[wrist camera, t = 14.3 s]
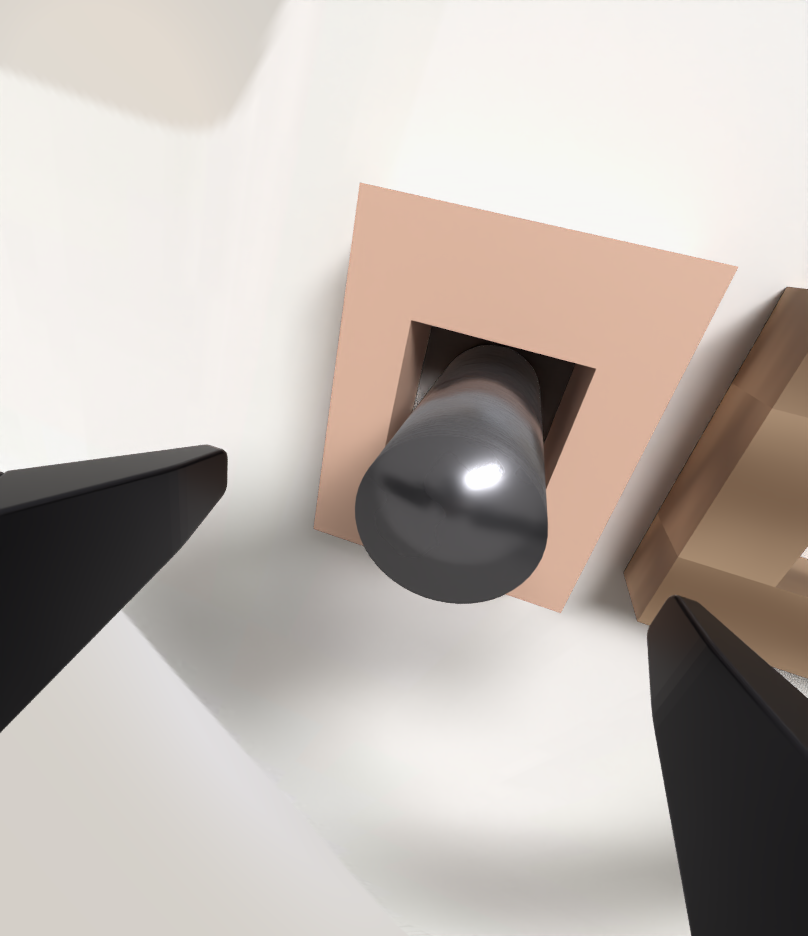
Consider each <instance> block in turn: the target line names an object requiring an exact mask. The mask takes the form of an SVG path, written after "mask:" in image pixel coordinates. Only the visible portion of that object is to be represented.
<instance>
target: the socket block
mask: <svg viewBox="0 0 808 936" xmlns="http://www.w3.org/2000/svg"><path fill="white" fill-rule="evenodd" d="M807 547H808V289H802V288H793V287H786V289H785V291H784V293H783V294H782V296H781V298H780V300H779V301H778V303H777V305H776V307H775V308H774V310H773V312H772V314H771V315H770V317H769V319H768V321H767V322H766V324H765V326H764V328H763V329H762V331H761V333H760V335H759V336H758V338H757V340H756V342H755V343H754V345H753V347H752V349H751V350H750V352H749V354H748V356H747V357H746V359H745V361H744V363H743V364H742V366H741V368H740V370H739V371H738V373H737V375H736V377H735V378H734V380H733V382H732V384H731V385H730V387H729V389H728V391H727V392H726V394H725V396H724V398H723V399H722V401H721V403H720V405H719V406H718V408H717V410H716V412H715V413H714V415H713V417H712V419H711V420H710V422H709V424H708V426H707V427H706V429H705V431H704V433H703V434H702V436H701V438H700V440H699V441H698V443H697V445H696V447H695V448H694V450H693V452H692V454H691V455H690V457H689V459H688V461H687V462H686V464H685V466H684V468H683V469H682V471H681V473H680V475H679V476H678V478H677V480H676V482H675V483H674V485H673V487H672V489H671V490H670V492H669V494H668V496H667V497H666V499H665V501H664V503H663V504H662V506H661V508H660V510H659V511H658V513H657V515H656V517H655V518H654V520H653V522H652V524H651V525H650V527H649V529H648V531H647V532H646V534H645V536H644V538H643V539H642V541H641V543H640V545H639V546H638V548H637V550H636V552H635V553H634V555H633V557H632V559H631V560H630V562H629V564H628V566H627V567H626V569H625V571H624V577H625V580H626V584H627V587H628V591H629V594H630V598H631V601H632V605H633V608H634V612H635V615H636V619H637V621H638V622H641V623H644V624H647V625H650V624H651V623H652V621H653V619H654V618H655V616H656V615H657V613H658V612H659V610H660V609H661V607H662V606H663V604H664V603H665V601H666V600H667V599H668V598H669V597H670V596H672V595H679V596H682V597H686V598H689V599H692V600H695V601H697V602H699V603H700V604H701V605H702V606H703V607H705V608H706V609H707V610H708V611H709V612H710V613H711V614H713V615H714V616H715V617H716V618H717V619H718V620H719V621H720V622H722V623H723V624H724V625H725V626H726V627H727V628H728V629H730V630H731V631H732V632H733V633H734V634H735V635H736V636H737V637H739V638H740V639H741V640H742V641H743V642H744V643H745V644H747V645H748V646H749V647H750V648H751V649H752V650H753V651H755V652H756V653H757V654H758V655H759V656H760V657H761V658H762V659H764V660H765V661H766V662H767V663H768V664H769V665H770V666H772V667H775V668H778V669H781V670H784V671H787V672H790V673H793V674H796V675H799V676H802V677H805V678H808V559H806V558H803V557H800V556H801V554H802V553H803V552H804V551H805V549H806V548H807Z"/></svg>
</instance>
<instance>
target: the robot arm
mask: <svg viewBox="0 0 808 936" xmlns="http://www.w3.org/2000/svg"><path fill="white" fill-rule="evenodd" d="M227 465H228V457H227V453H226V452H225V451H224V450H223V449H220V448H217V447H214V446H211V445H199V446H191V447H184V448H176V449H168V450H161V451H153V452H146V453H138V454H131V455H123V456H116V457H108V458H101V459H93V460H86V461H78V462H71V463H63V464H56V465H48V466H41V467H33V468H26V469H18V470H11V471H6V472H5V473H3V472H0V733H1V731H2V730H3V729H4V728H5V727H6V726H7V725H8V724H9V723H10V722H11V721H12V720H13V719H14V718H15V717H16V716H17V715H18V714H19V713H20V712H21V711H22V710H23V709H24V708H25V707H26V706H27V705H28V704H29V703H30V702H31V701H32V700H33V699H34V698H35V697H36V696H37V695H38V694H39V693H40V692H41V690H43V689H44V688H45V687H46V686H47V685H48V684H49V683H50V682H51V681H52V679H53V678H54V677H55V676H56V675H57V674H58V673H59V672H60V671H61V670H62V669H63V668H64V667H65V666H66V665H67V664H68V663H69V662H70V661H71V660H72V659H73V658H74V657H75V656H76V655H77V654H78V653H79V652H80V651H81V650H82V649H83V648H84V647H85V646H86V645H87V644H88V643H89V642H90V641H91V640H92V639H93V638H94V637H95V636H96V635H97V634H98V633H99V631H101V629H102V628H103V627H104V626H105V625H106V624H107V623H108V622H109V621H110V620H111V619H112V618H113V617H114V616H115V615H116V614H117V613H118V612H119V611H120V610H121V609H122V608H123V607H124V606H125V605H126V604H127V603H128V602H129V601H130V600H131V599H132V598H133V597H134V596H135V595H136V594H137V593H138V592H139V591H140V590H141V589H142V588H143V587H144V586H145V585H146V584H147V583H148V582H149V581H150V580H151V579H152V577H153V576H154V575H155V574H156V573H157V572H158V571H159V570H160V569H161V568H162V567H163V566H164V565H165V564H166V563H167V562H168V561H169V560H170V559H171V558H172V557H173V556H174V555H175V554H176V553H177V552H178V551H179V550H180V549H181V547H182V546H183V545H184V544H185V543H186V541H187V540H188V539H189V538H190V537H191V535H192V534H193V533H194V532H195V530H196V529H197V528H198V526H199V525H200V524H201V523H202V521H203V520H204V519H205V518H206V516H207V515H208V514H209V513H210V511H211V510H212V509H213V507H214V506H215V505H216V504H217V502H218V501H219V500H220V499H221V497H222V496H223V495H224V493H225V490H226V487H227ZM647 646H648V662H649V678H650V694H651V707H652V717H653V723H654V730H655V736H656V741H657V747H658V752H659V758H660V763H661V769H662V775H663V780H664V786H665V791H666V797H667V802H668V808H669V814H670V819H671V825H672V830H673V836H674V841H675V847H676V853H677V858H678V864H679V869H680V875H681V880H682V886H683V892H684V897H685V903H686V908H687V914H688V919H689V925H690V931H691V936H808V698H807V697H806V696H804V695H803V694H802V693H801V692H800V691H799V690H798V689H797V688H795V687H794V686H793V685H792V684H791V683H790V682H789V681H787V680H786V679H785V678H784V677H783V676H782V675H781V674H780V673H778V672H777V671H776V670H775V669H774V668H773V667H772V666H770V665H769V664H768V663H767V662H766V661H765V660H764V659H762V658H761V657H760V656H759V655H758V654H757V653H756V652H755V651H753V650H752V649H751V648H750V647H749V646H748V645H747V644H745V643H744V642H743V641H742V640H741V639H740V638H739V637H737V636H736V635H735V634H734V633H733V632H732V631H731V630H730V629H728V628H727V627H726V626H725V625H724V624H723V623H722V622H720V621H719V620H718V619H717V618H716V617H715V616H714V615H713V614H711V613H710V612H709V611H708V610H707V609H706V608H705V607H703V606H702V605H701V604H700V603H699V602H697V601H695V600H692V599H689V598H686V597H682V596H679V595H672V596H670V597H669V598H668V599H667V600H666V601H665V603H664V604H663V606H662V607H661V609H660V610H659V612H658V613H657V615H656V616H655V618H654V619H653V621H652V623H651V624H650V626H649V629H648V633H647Z"/></svg>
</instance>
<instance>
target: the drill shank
mask: <svg viewBox="0 0 808 936" xmlns="http://www.w3.org/2000/svg"><path fill="white" fill-rule="evenodd" d="M355 520H356V525H357V530H358V533H359V536H360V539H361V541H362V543H363V545H364V547H365V549H366V551H367V552H368V554H369V556H370V557H371V559H372V560H373V561H374V562H375V564H376V565H377V566H378V567H379V568H380V569H381V570H382V571H383V572H384V573H385V574H386V575H387V576H388V577H390V578H391V579H392V580H393V581H395V582H396V583H398V584H399V585H401V586H402V587H404V588H406V589H407V590H409V591H411V592H413V593H415V594H418V595H420V596H423V597H425V598H429V599H432V600H436V601H441V602H446V603H456V604H469V603H478V602H484V601H488V600H492V599H495V598H498V597H500V596H503V595H505V594H507V593H509V592H511V591H512V590H514V589H515V588H517V587H518V586H520V585H521V584H522V583H523V582H524V581H526V580H527V579H528V578H529V577H530V576H531V574H532V573H533V572H534V570H535V569H536V568H537V566H538V564H539V563H540V561H541V559H542V557H543V554H544V551H545V548H546V544H547V538H548V516H547V498H546V481H545V464H544V447H543V430H542V413H541V396H540V385H539V381H538V377H537V375H536V373H535V371H534V369H533V367H532V366H531V364H530V363H529V362H528V361H527V360H526V359H525V358H524V357H523V356H522V355H520V354H519V353H517V352H516V351H514V350H512V349H509V348H506V347H503V346H498V345H482V346H477V347H474V348H471V349H469V350H467V351H465V352H463V353H462V354H460V355H459V356H457V357H456V358H455V359H454V360H453V361H452V362H451V363H450V365H449V366H448V367H447V368H446V370H445V371H444V372H443V373H442V375H441V376H440V377H439V379H438V380H437V381H436V382H435V384H434V385H433V386H432V388H431V389H430V390H429V391H428V393H427V394H426V395H425V397H424V398H423V399H422V400H421V402H420V403H419V404H418V406H417V407H416V408H415V409H414V411H413V412H412V413H411V415H410V416H409V417H408V418H407V420H406V421H405V422H404V424H403V425H402V426H401V427H400V429H399V430H398V431H397V433H396V434H395V435H394V436H393V438H392V439H391V440H390V441H389V443H388V444H387V445H386V447H385V448H384V449H383V450H382V452H381V453H380V454H379V456H378V457H377V458H376V459H375V461H374V462H373V463H372V465H371V466H370V467H369V468H368V470H367V472H366V473H365V475H364V476H363V478H362V480H361V483H360V485H359V487H358V491H357V495H356V501H355Z"/></svg>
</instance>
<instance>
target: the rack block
mask: <svg viewBox="0 0 808 936" xmlns="http://www.w3.org/2000/svg"><path fill="white" fill-rule="evenodd" d="M737 269H738V267H737V266H732V265H728V264H723V263H719V262H714V261H710V260H705V259H701V258H696V257H692V256H687V255H683V254H678V253H674V252H669V251H665V250H660V249H656V248H651V247H647V246H642V245H638V244H633V243H629V242H624V241H620V240H615V239H611V238H606V237H602V236H597V235H593V234H588V233H584V232H579V231H575V230H570V229H566V228H562V227H557V226H553V225H548V224H544V223H539V222H535V221H530V220H526V219H521V218H517V217H512V216H508V215H503V214H499V213H494V212H490V211H485V210H481V209H476V208H472V207H467V206H463V205H458V204H454V203H449V202H445V201H440V200H436V199H431V198H427V197H422V196H418V195H413V194H409V193H404V192H400V191H395V190H391V189H386V188H382V187H377V186H373V185H368V184H364V183H360V186H359V193H358V201H357V208H356V215H355V223H354V230H353V238H352V245H351V253H350V260H349V268H348V275H347V283H346V290H345V297H344V305H343V312H342V320H341V327H340V335H339V342H338V350H337V357H336V365H335V372H334V379H333V387H332V394H331V402H330V409H329V417H328V424H327V432H326V439H325V446H324V454H323V461H322V469H321V476H320V484H319V491H318V499H317V506H316V514H315V521H314V528H313V529H315V530H318V531H321V532H324V533H327V534H330V535H333V536H336V537H339V538H342V539H345V540H348V541H351V542H353V543H356V544H359V545H362V546H364V545H363V543H362V541H361V539H360V536H359V533H358V530H357V525H356V520H355V501H356V495H357V491H358V487H359V485H360V483H361V480H362V478H363V476H364V475H365V473H366V472H367V470H368V468H369V467H370V466H371V465H372V463H373V462H374V461H375V459H376V458H377V457H378V456H379V454H380V453H381V452H382V450H383V449H384V448H385V447H386V445H387V444H388V443H389V441H390V440H391V439H392V438H393V436H394V435H395V434H396V433H397V431H398V430H399V429H400V427H401V426H402V425H403V424H404V422H405V421H406V420H407V418H408V417H409V416H410V415H411V413H412V411H413V407H414V402H415V398H416V393H417V389H418V385H419V380H420V376H421V372H422V367H423V363H424V358H425V354H426V350H427V345H428V341H429V336H430V332H431V328H432V326H436V327H440V328H444V329H447V330H451V331H455V332H459V333H463V334H466V335H470V336H474V337H478V338H482V339H485V340H489V341H493V342H497V343H501V344H504V345H508V346H512V347H516V348H520V349H523V350H527V351H531V352H535V353H539V354H543V355H546V356H550V357H554V358H558V359H562V360H565V361H569V362H573V363H576V364H575V366H574V369H573V371H572V374H571V376H570V379H569V381H568V384H567V387H566V389H565V392H564V394H563V397H562V399H561V402H560V404H559V407H558V410H557V412H556V415H555V417H554V420H553V422H552V425H551V427H550V430H549V433H548V435H547V438H546V440H545V443H544V445H543V447H544V464H545V481H546V498H547V516H548V538H547V544H546V548H545V551H544V554H543V557H542V559H541V561H540V563H539V564H538V566H537V568H536V569H535V570H534V572H533V573H532V574H531V576H530V577H529V578H528V579H527V580H526V581H524V582H523V583H522V584H521V585H520V586H518V587H517V588H515V589H514V590H512V591H511V592H509V593H507V594H506V595H509V596H512V597H515V598H518V599H521V600H524V601H527V602H530V603H533V604H536V605H539V606H541V607H544V608H547V609H550V610H553V611H556V612H559V613H561V611H562V609H563V608H564V606H565V604H566V602H567V600H568V598H569V596H570V594H571V592H572V590H573V588H574V586H575V584H576V582H577V580H578V578H579V576H580V574H581V572H582V571H583V569H584V567H585V565H586V563H587V561H588V559H589V557H590V555H591V553H592V551H593V549H594V547H595V545H596V543H597V541H598V539H599V537H600V535H601V533H602V532H603V530H604V528H605V526H606V524H607V522H608V520H609V518H610V516H611V514H612V512H613V510H614V508H615V506H616V504H617V502H618V500H619V498H620V496H621V495H622V493H623V491H624V489H625V487H626V485H627V483H628V481H629V479H630V477H631V475H632V473H633V471H634V469H635V467H636V465H637V463H638V461H639V459H640V458H641V456H642V454H643V452H644V450H645V448H646V446H647V444H648V442H649V440H650V438H651V436H652V434H653V432H654V430H655V428H656V426H657V424H658V422H659V421H660V419H661V417H662V415H663V413H664V411H665V409H666V407H667V405H668V403H669V401H670V399H671V397H672V395H673V393H674V391H675V389H676V387H677V385H678V384H679V382H680V380H681V378H682V376H683V374H684V372H685V370H686V368H687V366H688V364H689V362H690V360H691V358H692V356H693V354H694V352H695V350H696V348H697V346H698V345H699V343H700V341H701V339H702V337H703V335H704V333H705V331H706V329H707V327H708V325H709V323H710V321H711V319H712V317H713V315H714V313H715V311H716V309H717V308H718V306H719V304H720V302H721V300H722V298H723V296H724V294H725V292H726V290H727V288H728V286H729V284H730V282H731V280H732V278H733V276H734V274H735V272H736V271H737Z"/></svg>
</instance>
